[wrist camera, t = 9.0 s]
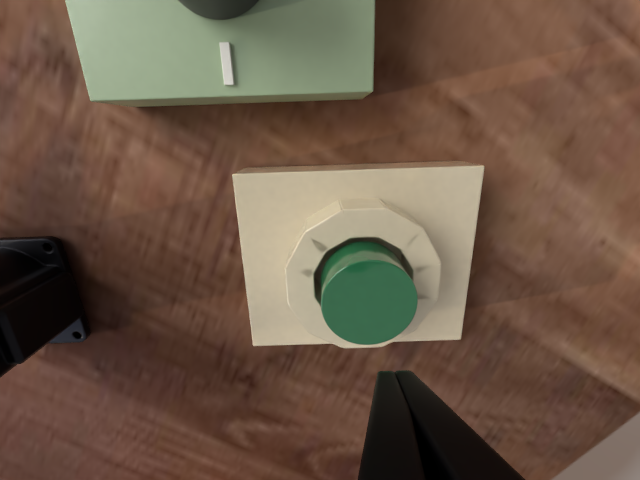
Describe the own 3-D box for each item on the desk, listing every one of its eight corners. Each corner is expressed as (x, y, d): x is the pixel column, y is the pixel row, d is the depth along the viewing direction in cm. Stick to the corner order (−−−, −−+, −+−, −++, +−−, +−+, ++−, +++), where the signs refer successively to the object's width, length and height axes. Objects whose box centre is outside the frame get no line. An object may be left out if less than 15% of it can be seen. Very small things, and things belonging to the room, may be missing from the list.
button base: (260, 319, 19) (244, 374, 15) (244, 167, 16) (217, 180, 12) (443, 314, 19) (480, 367, 15) (460, 160, 16) (512, 170, 12)
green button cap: (321, 317, 14) (322, 347, 12) (319, 242, 13) (319, 261, 11) (401, 314, 14) (414, 344, 12) (406, 239, 13) (421, 258, 11)
